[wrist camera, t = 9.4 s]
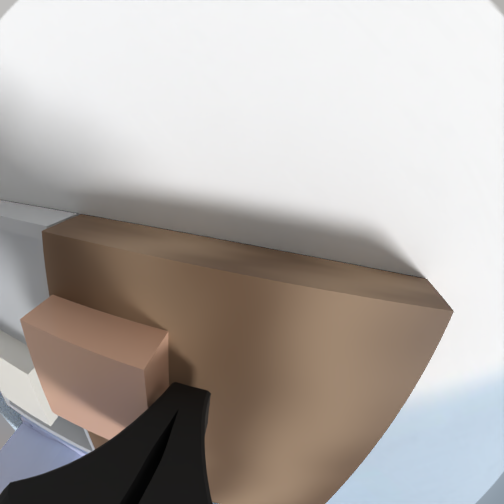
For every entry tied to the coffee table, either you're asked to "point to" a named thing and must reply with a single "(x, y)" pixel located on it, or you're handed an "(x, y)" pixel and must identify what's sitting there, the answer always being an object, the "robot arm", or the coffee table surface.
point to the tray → (29, 289)
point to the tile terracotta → (95, 364)
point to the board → (262, 346)
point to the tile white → (22, 379)
